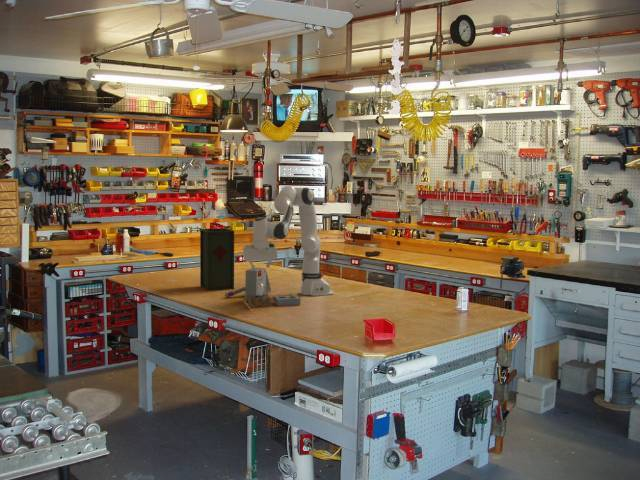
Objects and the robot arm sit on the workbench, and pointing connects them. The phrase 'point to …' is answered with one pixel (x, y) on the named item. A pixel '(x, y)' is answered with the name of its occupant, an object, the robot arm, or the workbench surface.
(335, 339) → the workbench surface
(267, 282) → the hammer
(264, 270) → the hard drive box
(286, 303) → the socket block
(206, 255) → the first aid box
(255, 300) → the rack
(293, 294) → the tan block
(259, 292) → the frosted round peg
